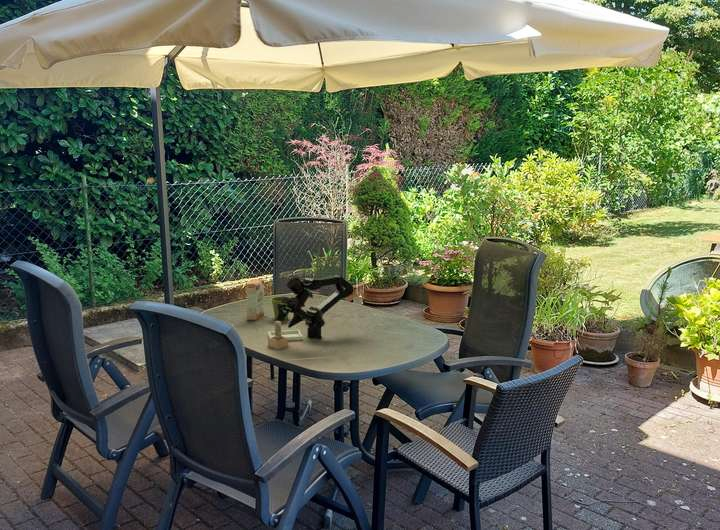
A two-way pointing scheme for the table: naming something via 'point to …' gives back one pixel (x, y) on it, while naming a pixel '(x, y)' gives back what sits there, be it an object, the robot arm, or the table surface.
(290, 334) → the tray
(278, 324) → the dowel pin
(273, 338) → the pin cup
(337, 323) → the table surface
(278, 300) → the plant pot
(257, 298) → the cracker box
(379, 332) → the table surface
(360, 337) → the table surface
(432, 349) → the table surface
